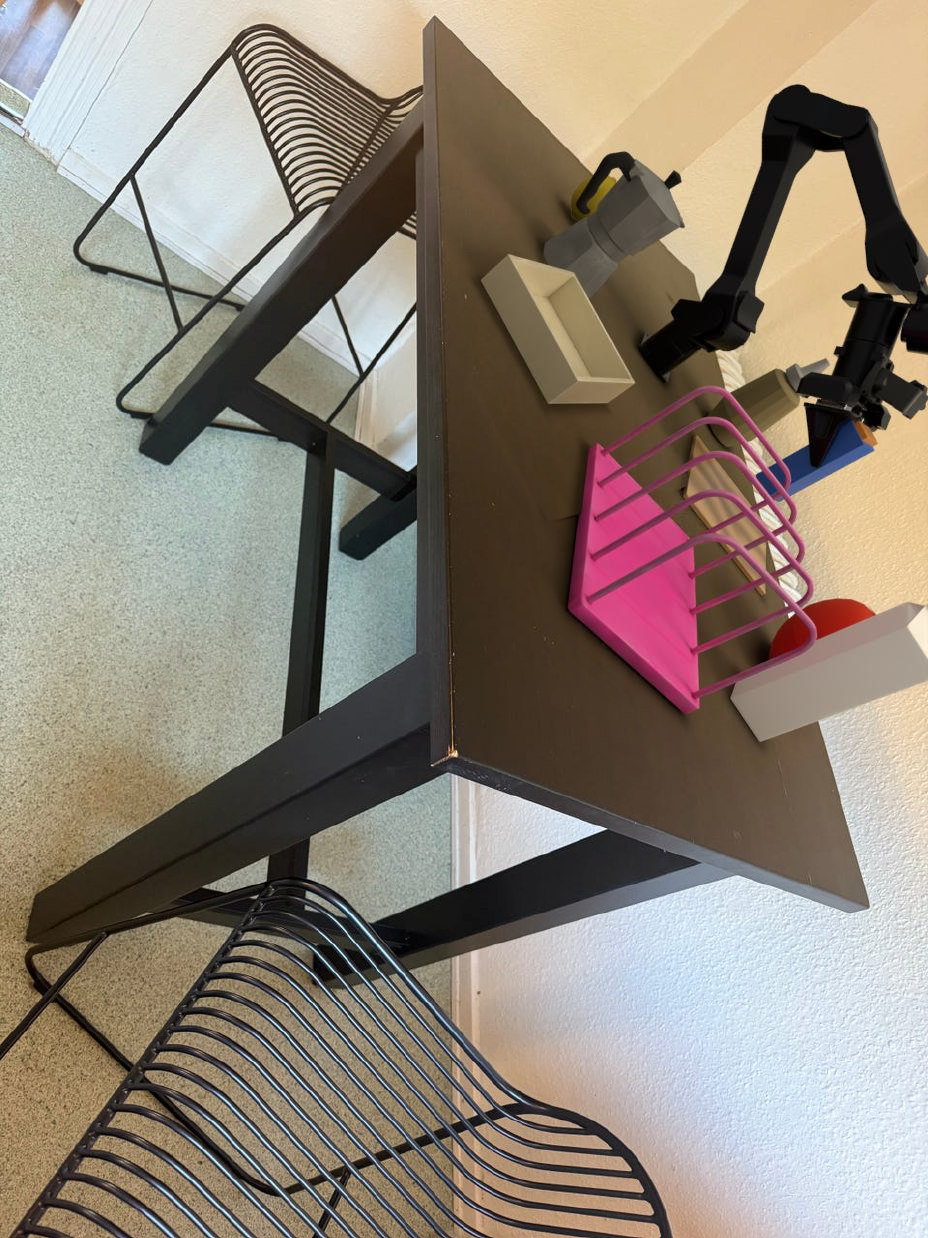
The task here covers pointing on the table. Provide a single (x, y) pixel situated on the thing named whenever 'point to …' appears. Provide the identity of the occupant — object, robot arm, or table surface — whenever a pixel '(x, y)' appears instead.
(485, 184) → the table surface
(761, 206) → the robot arm
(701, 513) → the square wooden board
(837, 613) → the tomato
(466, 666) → the table surface
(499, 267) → the basin
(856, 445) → the orange-tipped blue bar
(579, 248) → the coffeepot
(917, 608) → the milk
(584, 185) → the lemon
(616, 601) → the file sorter
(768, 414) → the squeeze bottle
